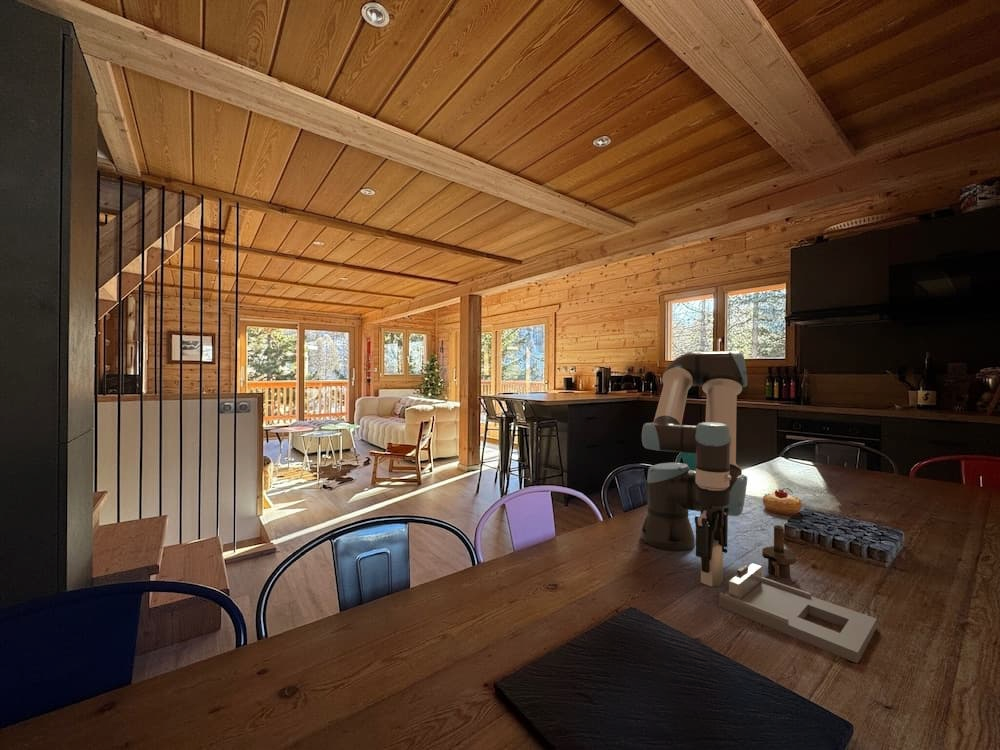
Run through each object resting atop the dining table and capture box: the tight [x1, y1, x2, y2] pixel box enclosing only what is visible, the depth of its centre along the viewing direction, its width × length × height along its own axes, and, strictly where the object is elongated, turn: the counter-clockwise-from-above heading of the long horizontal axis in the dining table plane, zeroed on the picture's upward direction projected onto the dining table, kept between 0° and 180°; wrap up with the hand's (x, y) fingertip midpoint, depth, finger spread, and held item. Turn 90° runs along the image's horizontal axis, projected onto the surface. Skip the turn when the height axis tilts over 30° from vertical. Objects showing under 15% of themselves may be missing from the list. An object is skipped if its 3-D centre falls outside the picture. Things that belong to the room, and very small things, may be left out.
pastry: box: [762, 487, 802, 516], centre depth 157 cm, size 12×12×9 cm
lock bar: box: [728, 563, 763, 599], centre depth 98 cm, size 2×13×4 cm, turn 130°
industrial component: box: [761, 524, 797, 578], centre depth 110 cm, size 9×7×12 cm
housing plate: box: [718, 576, 878, 664], centre depth 91 cm, size 24×16×3 cm, turn 40°
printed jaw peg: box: [712, 539, 723, 587], centre depth 106 cm, size 4×4×10 cm
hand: (711, 580), depth 106 cm, fingers closed on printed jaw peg, 4 cm apart
